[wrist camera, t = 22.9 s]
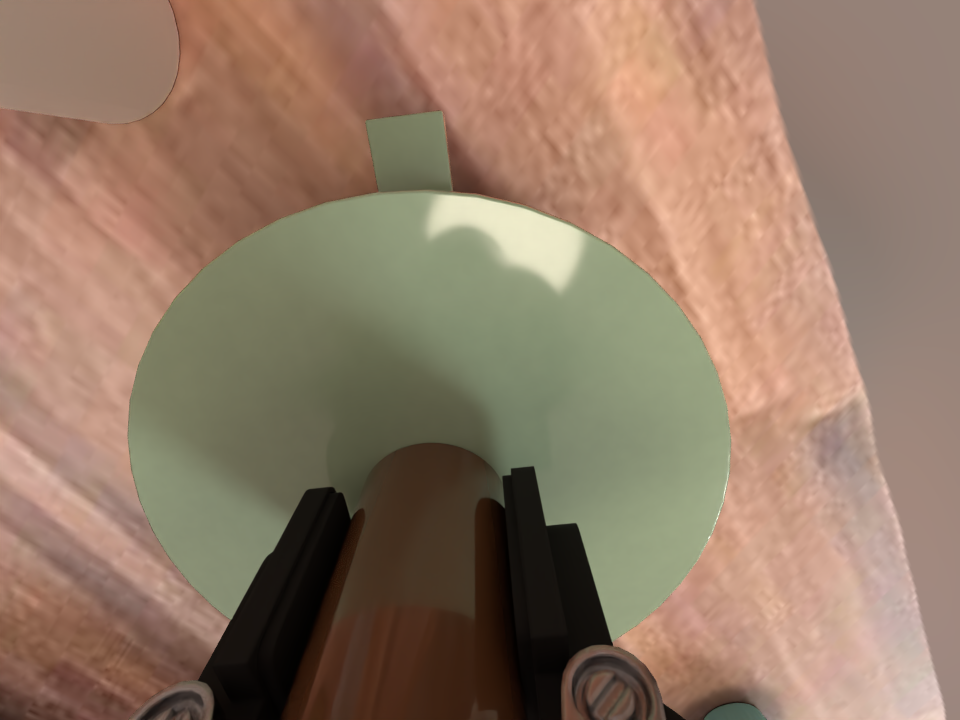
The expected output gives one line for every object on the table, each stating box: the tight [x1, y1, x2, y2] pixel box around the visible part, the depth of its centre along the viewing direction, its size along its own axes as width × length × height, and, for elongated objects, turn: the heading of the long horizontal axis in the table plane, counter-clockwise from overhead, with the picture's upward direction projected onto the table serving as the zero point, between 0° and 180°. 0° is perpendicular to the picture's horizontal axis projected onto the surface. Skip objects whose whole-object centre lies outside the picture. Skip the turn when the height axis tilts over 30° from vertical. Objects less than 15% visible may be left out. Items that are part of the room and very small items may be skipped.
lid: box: [128, 189, 731, 720], centre depth 9 cm, size 15×15×7 cm
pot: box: [365, 110, 454, 192], centre depth 20 cm, size 14×19×8 cm
